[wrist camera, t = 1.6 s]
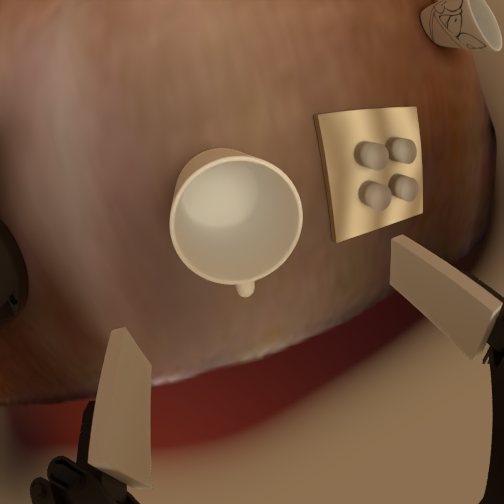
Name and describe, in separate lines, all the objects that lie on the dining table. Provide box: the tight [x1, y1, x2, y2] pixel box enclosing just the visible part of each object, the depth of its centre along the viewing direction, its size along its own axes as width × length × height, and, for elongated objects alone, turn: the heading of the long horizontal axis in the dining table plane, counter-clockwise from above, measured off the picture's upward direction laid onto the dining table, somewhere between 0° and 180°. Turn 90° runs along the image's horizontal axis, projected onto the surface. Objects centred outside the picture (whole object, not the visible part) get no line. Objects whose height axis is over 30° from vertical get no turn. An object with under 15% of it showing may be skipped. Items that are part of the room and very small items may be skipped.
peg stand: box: [313, 107, 423, 243], centre depth 27 cm, size 14×14×4 cm
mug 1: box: [169, 148, 303, 297], centre depth 22 cm, size 12×8×10 cm
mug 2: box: [420, 0, 502, 51], centre depth 16 cm, size 11×8×10 cm
